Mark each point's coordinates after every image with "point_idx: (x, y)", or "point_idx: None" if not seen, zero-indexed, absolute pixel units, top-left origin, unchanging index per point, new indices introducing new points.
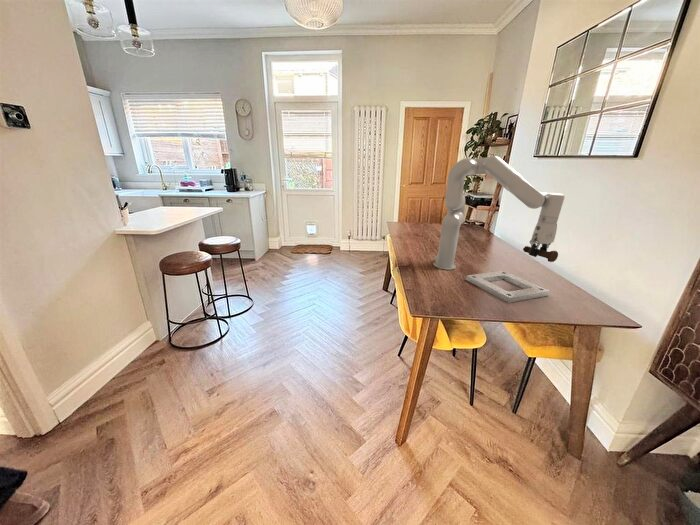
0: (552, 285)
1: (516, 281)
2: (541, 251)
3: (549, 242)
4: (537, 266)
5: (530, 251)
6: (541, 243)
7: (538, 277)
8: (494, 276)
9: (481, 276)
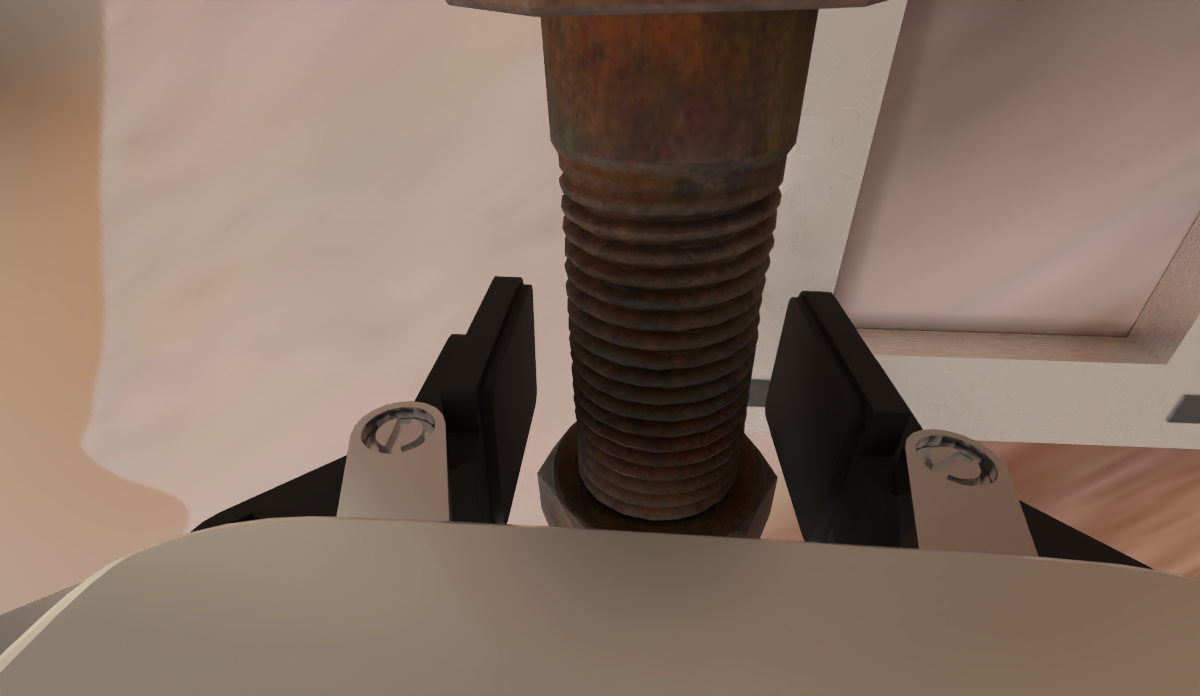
0: (387, 33)
1: (853, 198)
2: (727, 339)
3: (502, 555)
4: (148, 442)
5: (775, 484)
6: (1198, 579)
7: (364, 257)
8: (972, 357)
9: (1108, 394)
